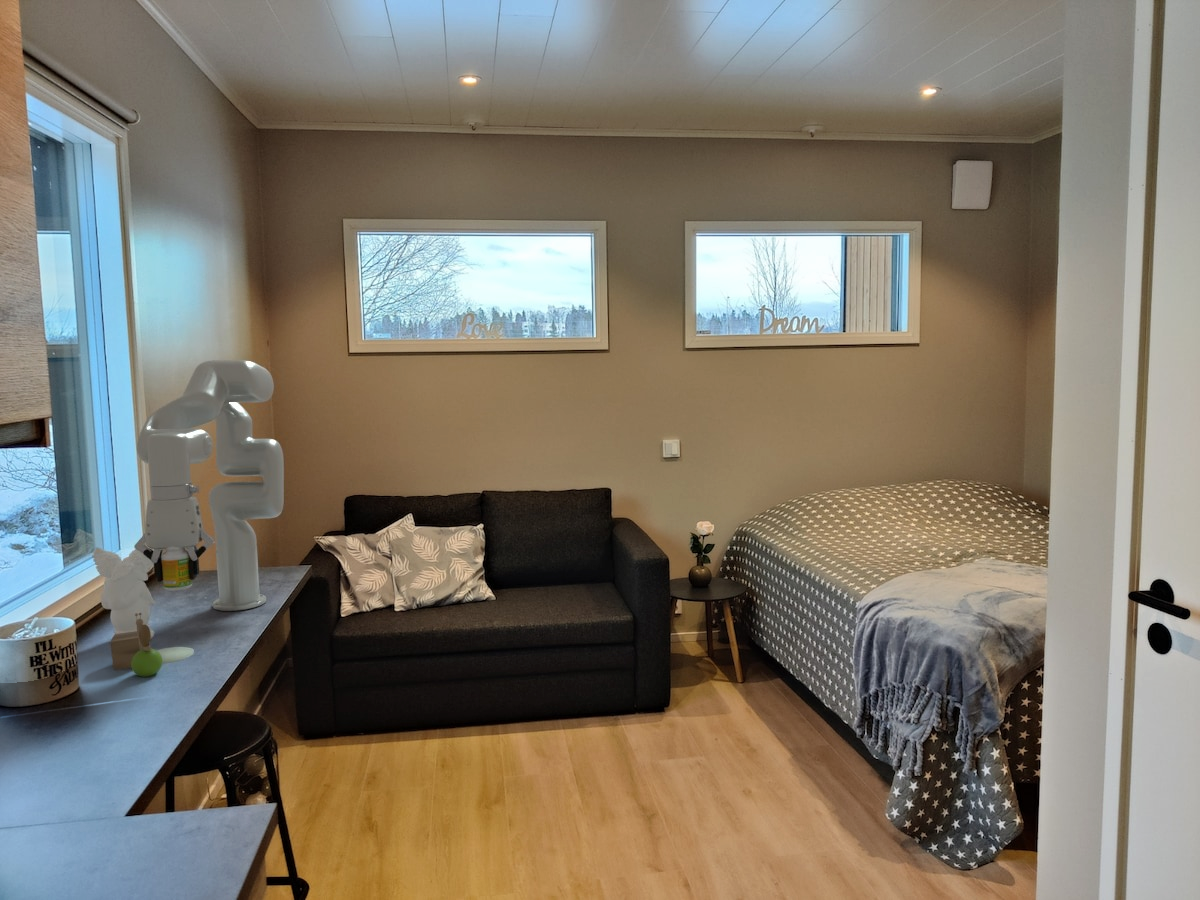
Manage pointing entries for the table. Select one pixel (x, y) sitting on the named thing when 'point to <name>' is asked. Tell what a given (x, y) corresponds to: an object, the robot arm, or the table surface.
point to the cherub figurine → (125, 588)
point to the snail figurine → (145, 653)
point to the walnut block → (124, 649)
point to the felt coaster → (175, 654)
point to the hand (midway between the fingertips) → (177, 578)
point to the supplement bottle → (176, 569)
